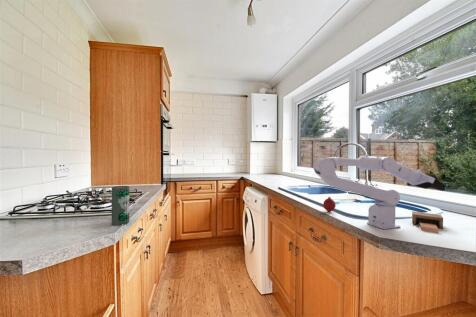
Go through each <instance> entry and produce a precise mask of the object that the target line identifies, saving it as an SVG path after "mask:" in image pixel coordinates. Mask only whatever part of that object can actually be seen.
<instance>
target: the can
mask: <svg viewBox="0 0 476 317" xmlns="http://www.w3.org/2000/svg"><path fill="white" fill-rule="evenodd" d="M129 223H130V186H128V185H115V186H112V187H111V225H112V226H123V225H127V224H129ZM122 224H123V225H122Z"/></svg>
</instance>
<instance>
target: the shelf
mask: <svg viewBox="0 0 476 317" xmlns="http://www.w3.org/2000/svg"><path fill="white" fill-rule="evenodd" d="M411 218H412V219H411V222H412V225H413V226H414V225H417V223H418V224H420V223H426V224H433V225H436V226H437V228H438V229H440V230H442V229H444V217H443V216H442V214H439V213H438V214H437V213H429V212H428V213H427V212H421V211H412V212H411Z"/></svg>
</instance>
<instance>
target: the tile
mask: <svg viewBox="0 0 476 317" xmlns="http://www.w3.org/2000/svg"><path fill="white" fill-rule="evenodd" d="M419 228H420V231H423V232H430V233H436V234H439V227H438V225H433V224H426V223H419Z"/></svg>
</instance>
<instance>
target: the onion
mask: <svg viewBox="0 0 476 317" xmlns="http://www.w3.org/2000/svg"><path fill="white" fill-rule="evenodd" d="M322 206H323V209H325V211H327V212H328V213H331V212H333V211H334V210H335V208H336V206H337V204H336V202H335V201H334V199H332V198H331V196H328V197H327V199H324V201H323V203H322Z"/></svg>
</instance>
